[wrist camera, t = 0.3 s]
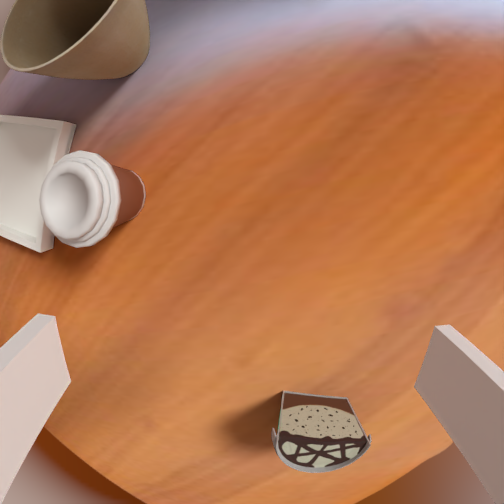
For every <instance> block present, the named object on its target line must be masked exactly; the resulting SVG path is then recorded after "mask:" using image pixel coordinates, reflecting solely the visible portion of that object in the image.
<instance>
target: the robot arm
mask: <svg viewBox="0 0 504 504" xmlns="http://www.w3.org/2000/svg"><path fill="white" fill-rule="evenodd" d="M70 383H71V379H70V376H69V372H68V369H67V365H66V361H65V358H64V354H63V350H62V346H61V341H60V337H59V333H58V328H57V323H56V318H55V316H50V315H44V314H37V315H36V316H35V317H34V318H32V319H31V320H30V321H29V322H28V323H27V324H26V325H25V326H24V327H22V328H21V329H20V330H19V331H18V332H17V333H16V334H15V335H14V336H13V337H12V338H11V339H9V340H8V341H7V342H6V343H5V344H4V345H3V346H2V347H1V348H0V504H1V503H2V501H3V499H4V497H5V495H6V493H7V491H8V489H9V487H10V485H11V483H12V482H13V480H14V478H15V476H16V474H17V472H18V470H19V468H20V467H21V465H22V463H23V461H24V459H25V457H26V455H27V454H28V452H29V450H30V449H31V446H32V445H33V443H34V441H35V440H36V438H37V436H38V434H39V432H40V431H41V429H42V428H43V426H44V424H45V423H46V421H47V419H48V418H49V416H50V414H51V413H52V411H53V410H54V408H55V406H56V405H57V403H58V401H59V400H60V398H61V397H62V395H63V393H64V392H65V390H66V389H67V387H68V386H69V384H70ZM414 387H415V389H416V390H417V391H418V393H419V394H420V395H421V397H422V398H423V400H424V401H425V402H426V404H427V405H428V406H429V408H430V409H431V410H432V412H433V413H434V415H435V416H436V417H437V419H438V420H439V422H440V423H441V424H442V426H443V427H444V429H445V430H446V431H447V433H448V434H449V436H450V437H451V439H452V440H453V441H454V443H455V444H456V446H457V447H458V449H459V450H460V452H461V453H462V454H463V456H464V457H465V459H466V460H467V462H468V463H469V465H470V466H471V468H472V469H473V471H474V472H475V474H476V475H477V477H478V478H479V480H480V481H481V483H482V484H483V486H484V487H485V489H486V490H487V492H488V494H489V495H490V496H491V498H492V500H493V501H494V503H495V504H504V372H503V371H502V370H501V369H500V368H499V367H498V366H497V365H496V364H495V363H493V362H492V361H491V360H490V359H489V358H488V357H487V356H486V355H485V354H483V353H482V352H481V351H480V350H479V349H478V348H477V347H475V346H474V345H473V344H472V343H471V342H470V341H468V340H467V339H466V338H465V337H464V336H463V335H461V334H460V333H459V332H458V331H457V330H456V329H454V328H453V327H452V326H451V325H441V326H435V327H434V330H433V334H432V337H431V340H430V343H429V346H428V349H427V352H426V355H425V358H424V361H423V364H422V367H421V370H420V372H419V375H418V378H417V380H416V383H415V386H414Z"/></svg>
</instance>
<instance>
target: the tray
mask: <svg viewBox="0 0 504 504" xmlns="http://www.w3.org/2000/svg"><path fill="white" fill-rule="evenodd" d="M75 129H76V124H72V123H69V122H65V121H58V120H50V119H41V118H32V117H22V116H10V115H0V236H2V237H5V238H7V239H9V240H11V241H14V242H16V243H18V244H21V245H23V246H25V247H28V248H30V249H33V250H35V251H37V252H40V253H41V252H44V251H47V250H50V249H53V245H54V236H55V235H54V234H53V233H52V232H51V231H50V230H49V229H48V228H47V226H46V224H45V222H44V220H43V218H42V215H41V210H40V202H39V198H40V192H41V187H42V184H43V182H44V180H45V178H46V176H47V174H48V172H49V171H50V170H51V168H52V166H53V165H54V164H56V163H57V162H58V161H59V160H60V159H61V158H62V157H63V156H64V155H66V154H69V152H70V148H71V144H72V140H73V136H74V132H75Z"/></svg>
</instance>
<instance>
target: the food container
mask: <svg viewBox="0 0 504 504" xmlns="http://www.w3.org/2000/svg"><path fill="white" fill-rule="evenodd" d="M271 434H272V442H273V445H274V448H275V451H276V453H277V455H278V456H279V458H280V459H281V460H282V461H283V462H284V463H285V464H286V465H288V466H289V467H291V468H293V469H296V470H299V471H303V472H310V473H321V472H328V471H333V470H336V469H340V468H342V467H345V466H347V465H349V464H351V463H353V462H354V461H356V460H357V459H359V458H360V457H361V456H362V455H363V454H364V453H365V452H366V451H367V450H368V448H369V447H370V446H371V445H370V443H371V434H369V436H368V438H367V435H366V433H365V431H364V429H363V427H362V425H361V423H360V421H359V419H358V418H357V416H356V414H355V412H354V410H353V408H352V406H351V404H350V402H349V400H348V398H346V397H334V396H324V395H314V394H305V393H297V392H289V391H283V394H282V400H281V408H280V416H279V423H278V431H277V435H276V433H275V430H274V428H272V433H271Z"/></svg>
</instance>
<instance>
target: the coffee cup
mask: <svg viewBox="0 0 504 504" xmlns="http://www.w3.org/2000/svg"><path fill="white" fill-rule="evenodd" d="M145 199H146V191H145V185H144V183H143V181H142V180H141V178H140V176H138V175H137V174H136V173H135V172H133V171H131V170H127V169H123V168H120V167H117V166H113V165H111V164H110V163H108V162H107V161H106V160H105V159H104V158H102V157H101V156H100V155H99V154H96V153H91V152H86V151H81V150H80V151H76V152H73V153H70V154H66V155H64V156H63V157H62V158H61V159H60V160H59V161H58V162H57V163H56V164H54V165H53V166H52V168H51V170H50V171H49V172H48V174H47V176H46V178H45V180H44V182H43V184H42V187H41V192H40V198H39V202H40V210H41V215H42V218H43V220H44V222H45V224H46V226H47V228H48V229H49V230H50V231H51V232H52V233H53V234H54V235H55V236H56V237H57V238H58V239H59V240H60V241H61V242H62V243H65V244H67V245H70V246H73V247H76V248H80V247H87V246H92V245H95V244H96V243H98V242H99V241H100V240H102V239H103V238H105V237H106V236H108V234H109V232H110V231H111V229H112V228H114V227H116V226H118V225H121V224H123V223H125V222H127V221H130V220H131V219H133V218H134V217H136V216H137V215H138V214H139V213H140V211H141V210H142V208H143V207H144V203H145Z"/></svg>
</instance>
